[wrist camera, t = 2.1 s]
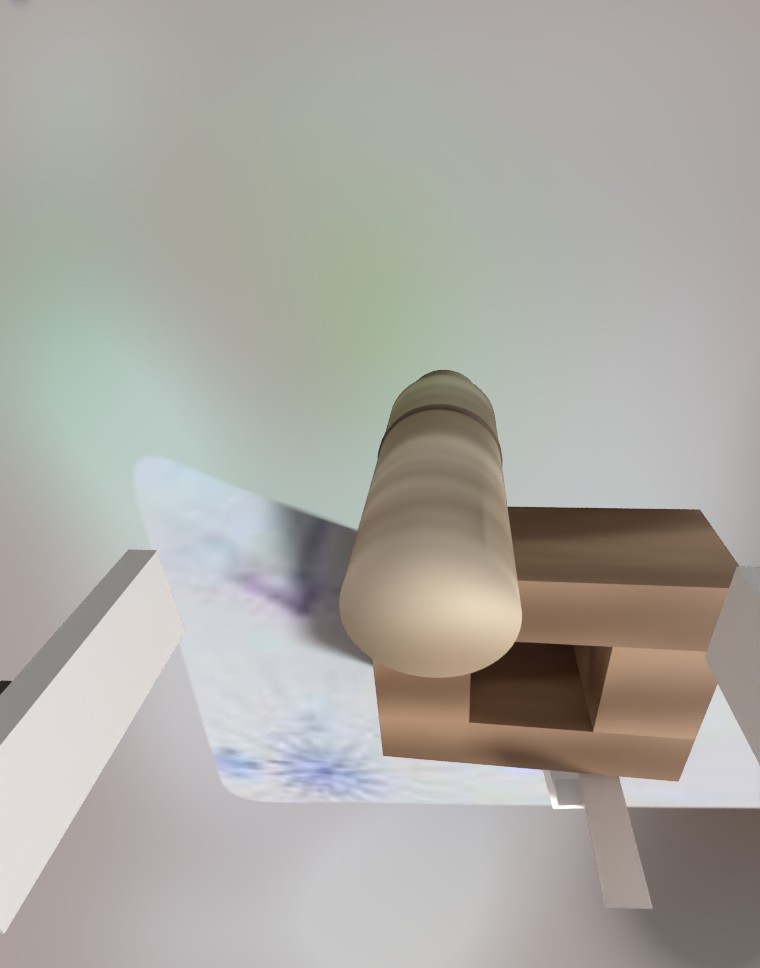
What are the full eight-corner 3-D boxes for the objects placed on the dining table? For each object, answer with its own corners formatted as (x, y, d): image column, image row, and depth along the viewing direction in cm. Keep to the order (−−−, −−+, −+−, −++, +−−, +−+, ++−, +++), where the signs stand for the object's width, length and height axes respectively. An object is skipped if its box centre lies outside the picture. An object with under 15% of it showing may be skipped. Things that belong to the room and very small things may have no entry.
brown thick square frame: (379, 504, 25) (363, 575, 20) (699, 509, 22) (755, 589, 18) (393, 674, 31) (383, 755, 26) (646, 690, 29) (678, 781, 24)
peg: (391, 357, 21) (325, 540, 11) (495, 354, 20) (532, 544, 10) (396, 449, 23) (346, 673, 13) (491, 449, 22) (518, 684, 12)
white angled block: (599, 679, 25) (653, 908, 21) (595, 703, 34) (632, 871, 29) (523, 686, 26) (558, 906, 22) (537, 707, 34) (564, 870, 30)
